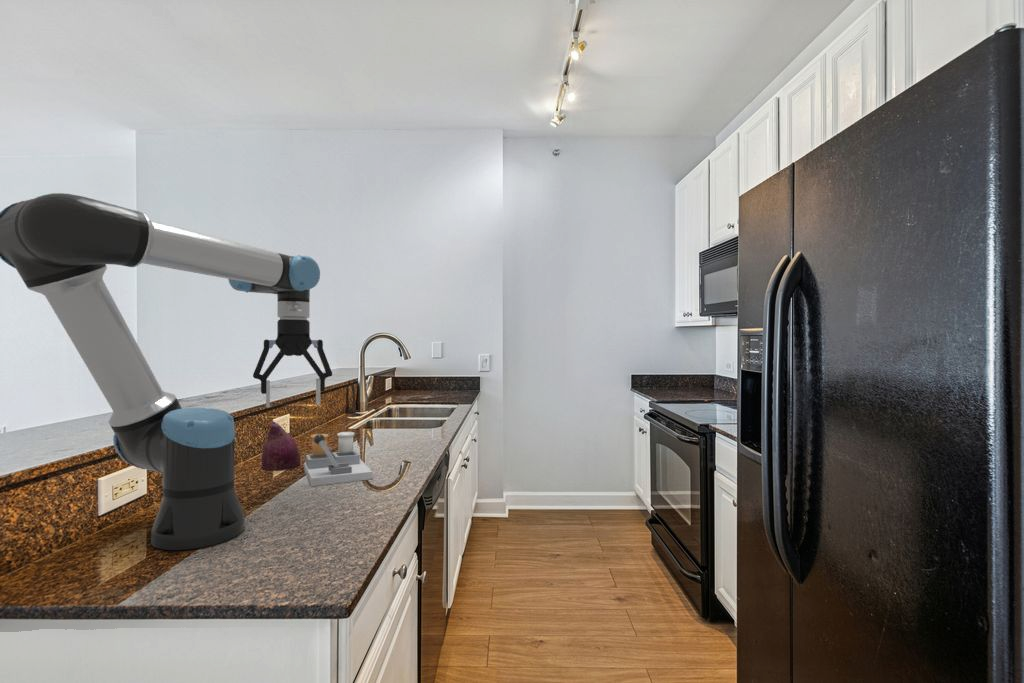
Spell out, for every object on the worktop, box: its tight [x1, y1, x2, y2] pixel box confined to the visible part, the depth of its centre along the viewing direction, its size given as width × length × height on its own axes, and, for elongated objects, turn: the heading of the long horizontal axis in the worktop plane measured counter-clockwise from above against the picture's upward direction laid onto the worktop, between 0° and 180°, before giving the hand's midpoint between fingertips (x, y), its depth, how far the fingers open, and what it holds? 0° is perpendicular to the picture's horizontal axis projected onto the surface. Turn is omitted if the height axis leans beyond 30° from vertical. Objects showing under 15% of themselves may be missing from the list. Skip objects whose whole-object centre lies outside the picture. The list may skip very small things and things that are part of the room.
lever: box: [314, 433, 340, 468], centre depth 135 cm, size 3×3×11 cm
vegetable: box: [261, 420, 301, 472], centre depth 148 cm, size 10×10×15 cm
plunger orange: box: [310, 433, 329, 455], centre depth 143 cm, size 5×5×5 cm
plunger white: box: [336, 431, 355, 453], centre depth 146 cm, size 5×5×5 cm
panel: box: [303, 449, 373, 487], centre depth 141 cm, size 15×18×4 cm
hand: (293, 405), depth 131 cm, fingers open, 11 cm apart
